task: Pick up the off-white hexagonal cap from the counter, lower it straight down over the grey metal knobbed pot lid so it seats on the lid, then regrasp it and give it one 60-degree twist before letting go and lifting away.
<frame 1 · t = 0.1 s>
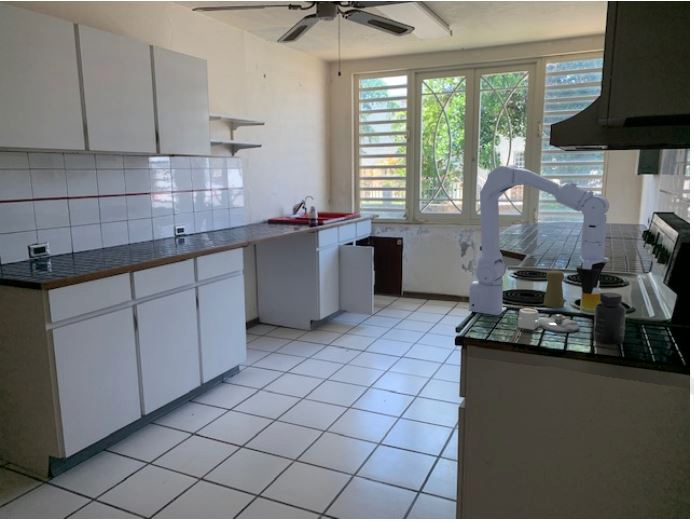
hand: (589, 290, 136), 10 cm above the countertop, tool pointing down, fingers open, 7 cm apart
supplement bottle: (607, 341, 126), on the countertop
cap: (528, 326, 138), on the countertop
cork: (553, 305, 158), on the countertop
supplement bottle 2: (589, 313, 149), on the countertop
knobbed pot lid: (558, 326, 138), on the countertop
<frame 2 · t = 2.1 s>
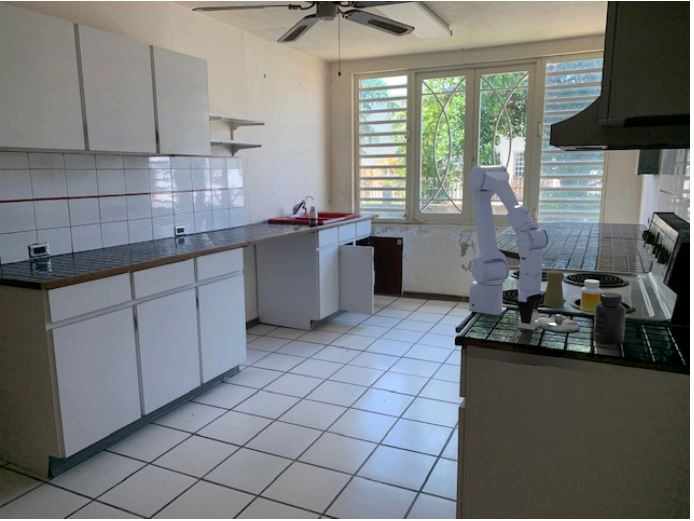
hand: (528, 320, 138), 2 cm above the countertop, tool pointing down, fingers closed on cap, 4 cm apart
cap: (528, 326, 138), on the countertop, touching gripper
everything else where it was.
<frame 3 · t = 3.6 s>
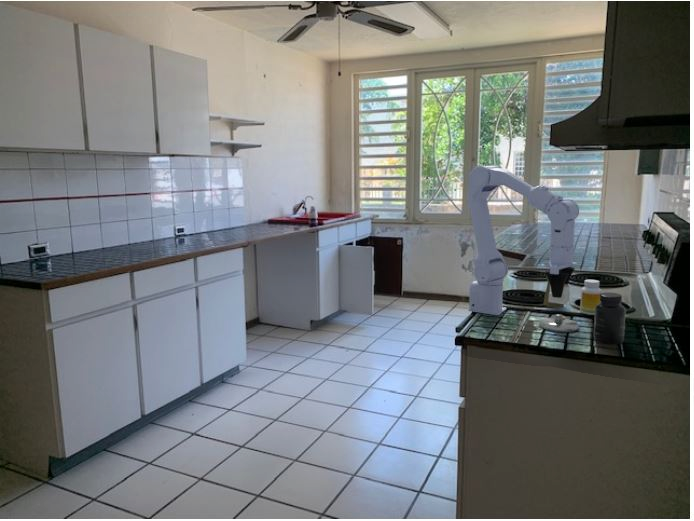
hand: (559, 295, 136), 9 cm above the countertop, tool pointing down, fingers closed on cap, 4 cm apart
cap: (558, 301, 136), point 7 cm above the countertop, touching gripper
everything else where it was.
when the fingers open (4 cm above the countertop, at t = 5.3 s): cap stays where it is, resting on knobbed pot lid.
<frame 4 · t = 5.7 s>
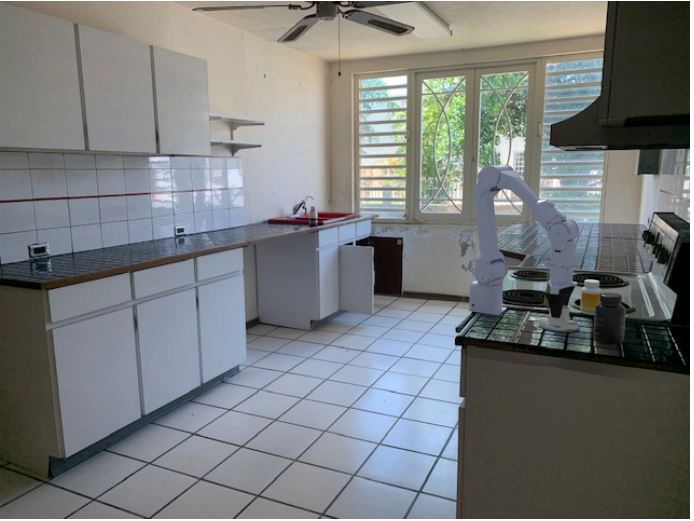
hand: (558, 313, 137), 4 cm above the countertop, tool pointing down, fingers open, 7 cm apart
cap: (558, 322, 137), point 1 cm above the countertop, touching knobbed pot lid
everything else where it was.
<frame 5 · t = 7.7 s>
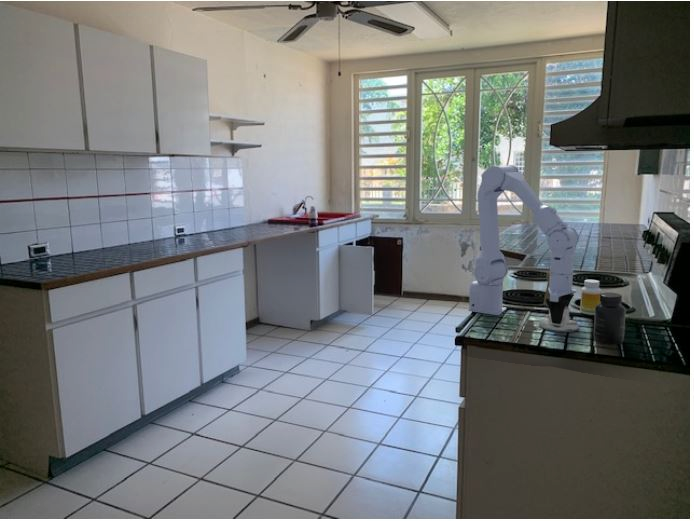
hand: (558, 320, 137), 2 cm above the countertop, tool pointing down, fingers closed on cap, 4 cm apart
cap: (558, 322, 137), point 1 cm above the countertop, touching gripper, knobbed pot lid
everything else where it was.
when the fingers open (2 cm above the countertop, at t = 9.2 s): cap stays where it is, resting on knobbed pot lid.
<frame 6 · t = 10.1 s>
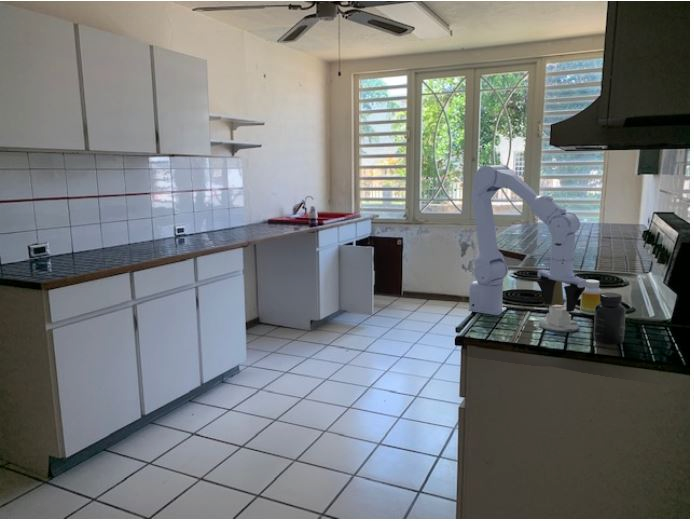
hand: (558, 307, 137), 5 cm above the countertop, tool pointing down, fingers open, 7 cm apart
cap: (558, 322, 137), point 1 cm above the countertop, touching knobbed pot lid
everything else where it was.
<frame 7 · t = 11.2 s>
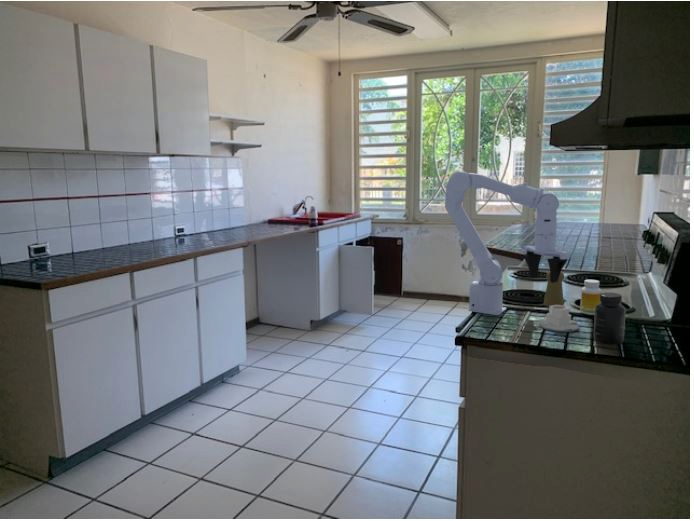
hand: (543, 279, 148), 10 cm above the countertop, tool pointing down, fingers open, 7 cm apart
nothing on the countertop moved.
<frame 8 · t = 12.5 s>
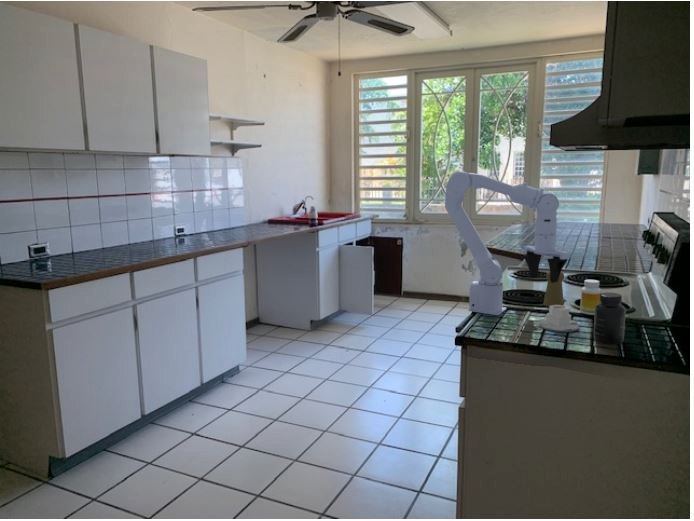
hand: (543, 279, 148), 10 cm above the countertop, tool pointing down, fingers open, 7 cm apart
nothing on the countertop moved.
at the end: cap 0.0 cm from the knobbed pot lid (horizontally); cap point 1.0 cm above the countertop; the gripper is holding nothing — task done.
